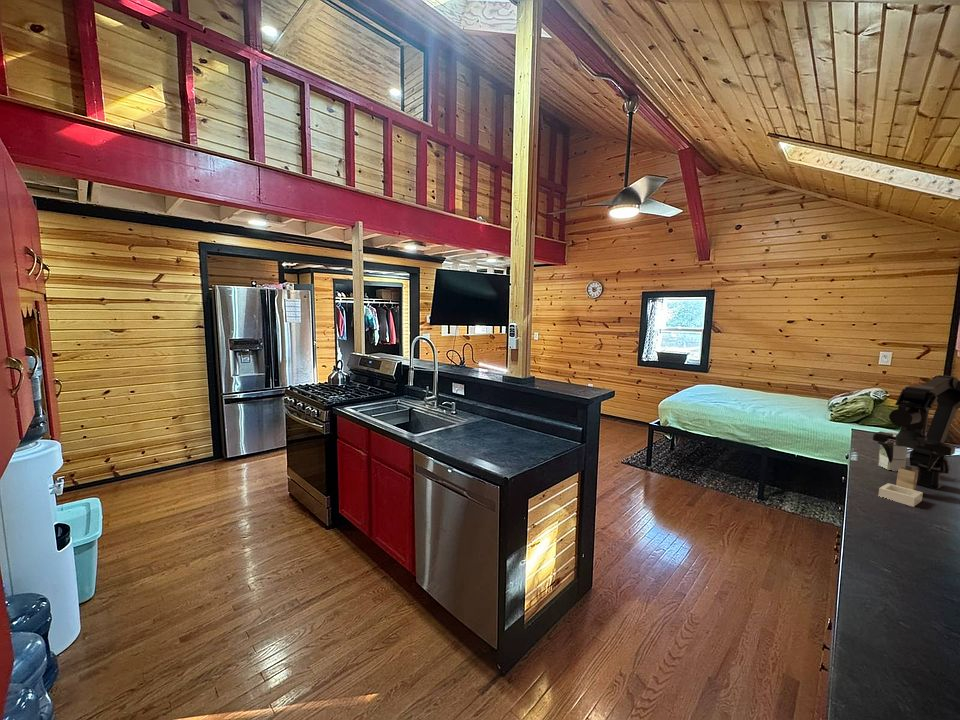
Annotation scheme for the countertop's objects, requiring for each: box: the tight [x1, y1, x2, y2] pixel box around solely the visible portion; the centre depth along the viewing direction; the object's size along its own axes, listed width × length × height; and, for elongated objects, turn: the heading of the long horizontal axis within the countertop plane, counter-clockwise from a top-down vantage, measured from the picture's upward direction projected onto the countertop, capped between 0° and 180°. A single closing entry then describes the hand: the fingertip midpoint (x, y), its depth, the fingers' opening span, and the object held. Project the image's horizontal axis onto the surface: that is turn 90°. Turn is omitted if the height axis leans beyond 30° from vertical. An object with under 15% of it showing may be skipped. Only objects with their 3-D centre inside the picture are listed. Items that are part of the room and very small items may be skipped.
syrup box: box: [877, 431, 908, 472], centre depth 159 cm, size 6×6×14 cm
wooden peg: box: [895, 465, 918, 491], centre depth 139 cm, size 4×4×9 cm
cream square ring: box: [877, 482, 924, 508], centre depth 133 cm, size 8×8×3 cm
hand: (908, 466), depth 138 cm, fingers open, 9 cm apart
